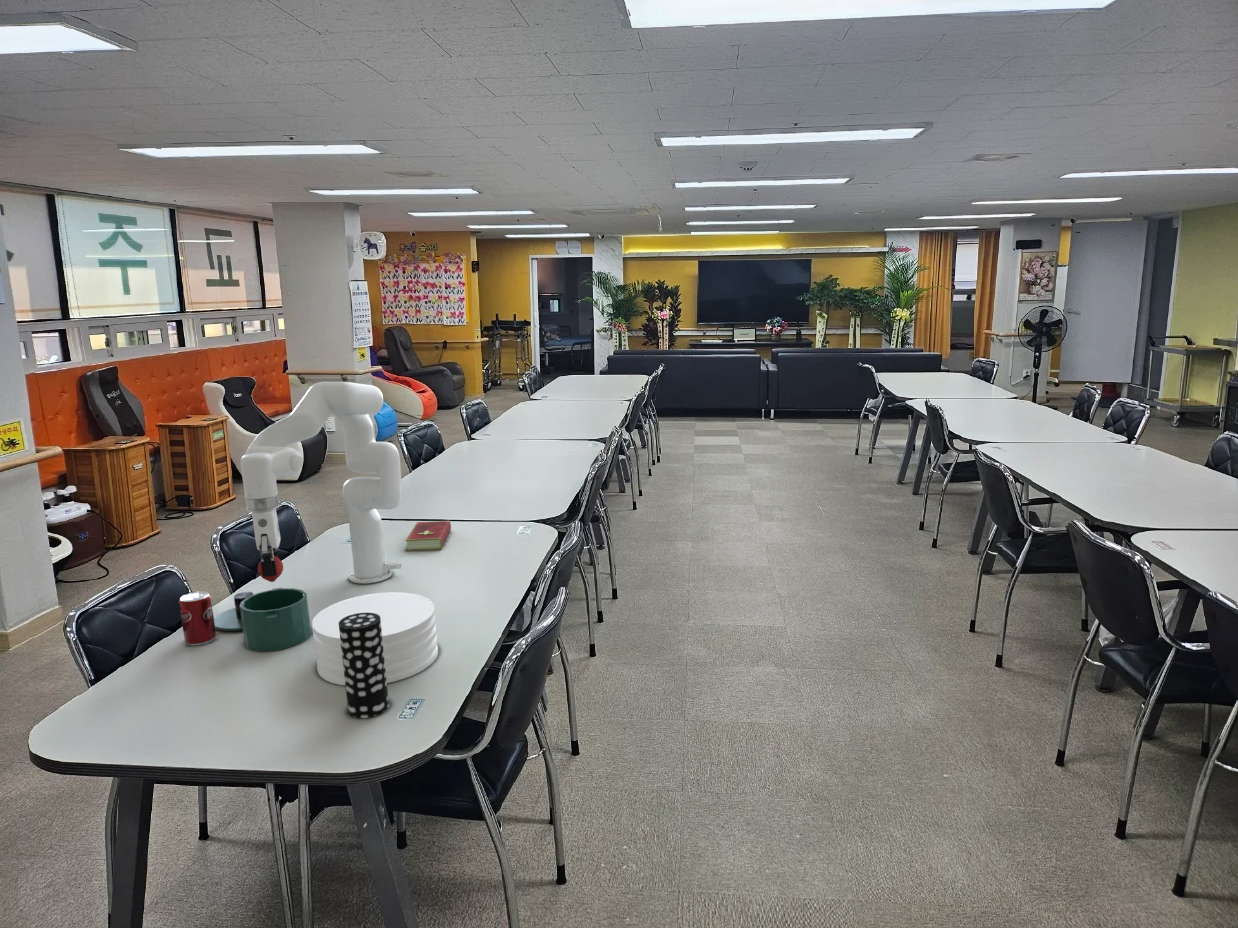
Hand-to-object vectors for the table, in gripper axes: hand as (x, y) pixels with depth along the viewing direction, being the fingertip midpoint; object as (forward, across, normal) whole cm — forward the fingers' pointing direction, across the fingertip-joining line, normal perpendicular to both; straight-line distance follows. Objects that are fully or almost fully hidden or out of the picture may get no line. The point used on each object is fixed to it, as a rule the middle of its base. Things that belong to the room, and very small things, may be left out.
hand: (270, 570), depth 208 cm
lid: (+17, +16, +9) cm, 25 cm away
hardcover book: (+18, +68, -45) cm, 83 cm away
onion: (+3, 0, 0) cm, 3 cm away
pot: (+18, 0, 0) cm, 18 cm away
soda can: (+18, +6, +19) cm, 27 cm away
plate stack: (+18, -22, -24) cm, 37 cm away
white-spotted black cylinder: (+18, -46, -21) cm, 54 cm away
